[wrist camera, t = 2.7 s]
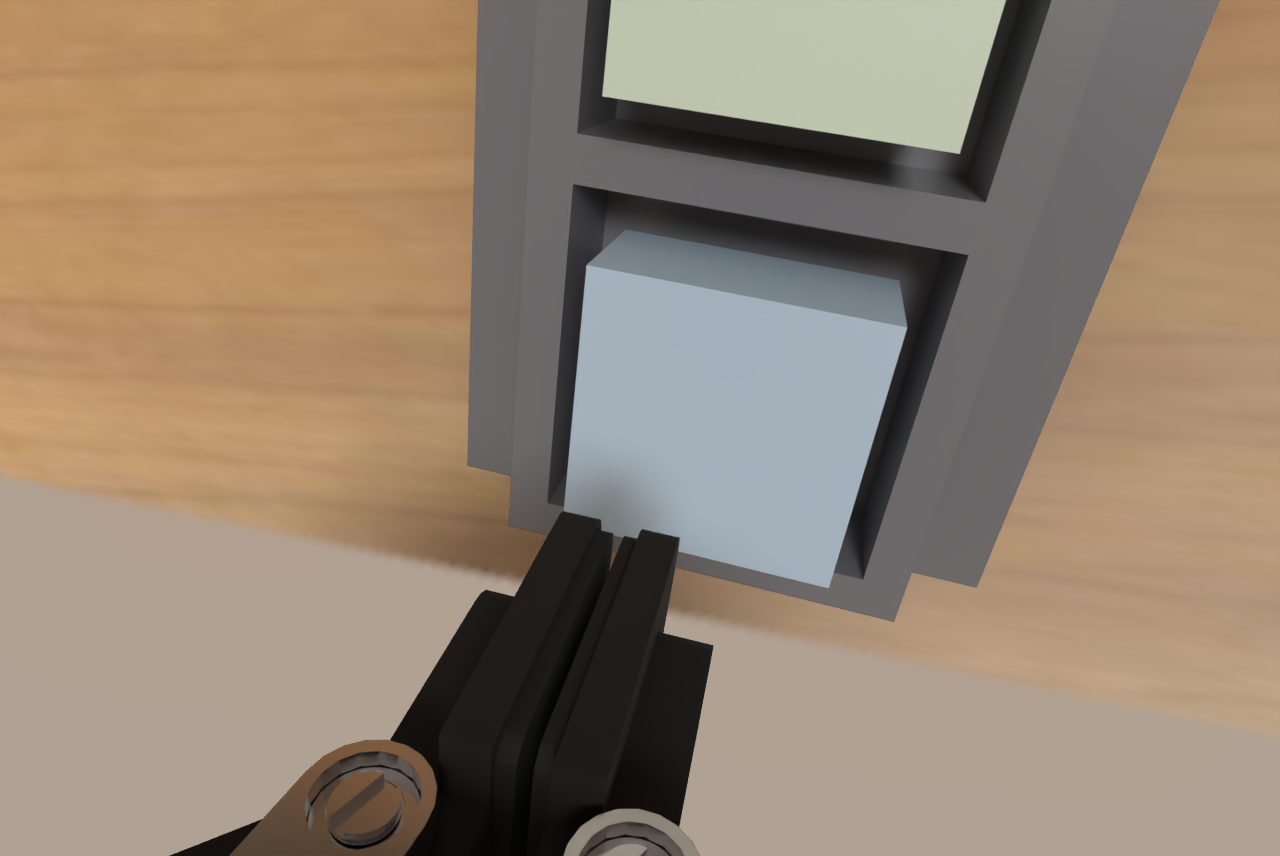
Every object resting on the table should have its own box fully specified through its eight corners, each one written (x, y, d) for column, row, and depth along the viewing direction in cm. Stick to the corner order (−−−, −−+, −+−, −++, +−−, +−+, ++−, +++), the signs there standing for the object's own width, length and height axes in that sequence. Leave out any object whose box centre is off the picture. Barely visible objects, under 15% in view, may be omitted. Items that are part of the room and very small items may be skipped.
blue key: (899, 280, 17) (907, 327, 14) (832, 513, 20) (828, 588, 17) (625, 229, 18) (586, 265, 15) (599, 459, 21) (562, 522, 18)
